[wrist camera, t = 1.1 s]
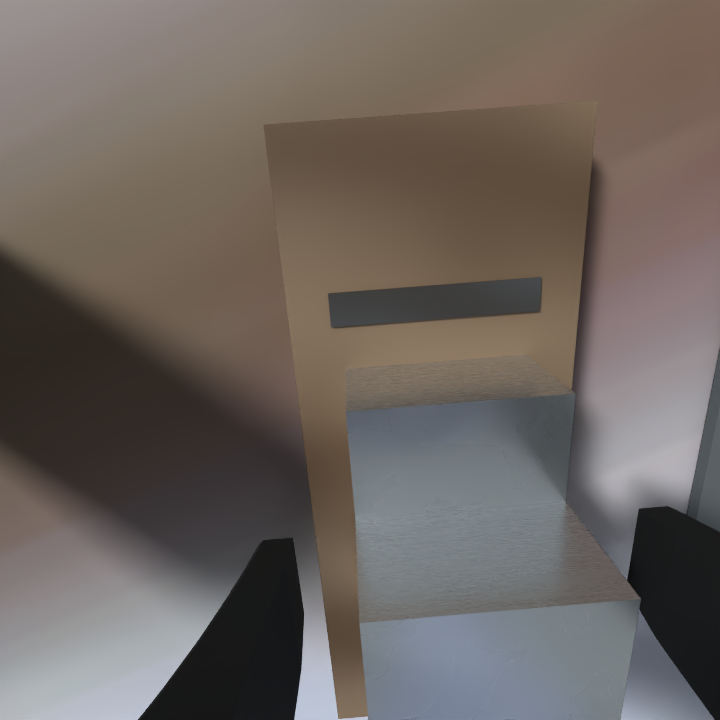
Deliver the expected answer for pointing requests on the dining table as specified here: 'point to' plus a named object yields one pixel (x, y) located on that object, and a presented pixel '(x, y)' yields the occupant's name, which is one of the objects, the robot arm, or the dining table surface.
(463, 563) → the grey stepped block
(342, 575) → the body
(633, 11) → the dining table surface
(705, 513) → the mat
